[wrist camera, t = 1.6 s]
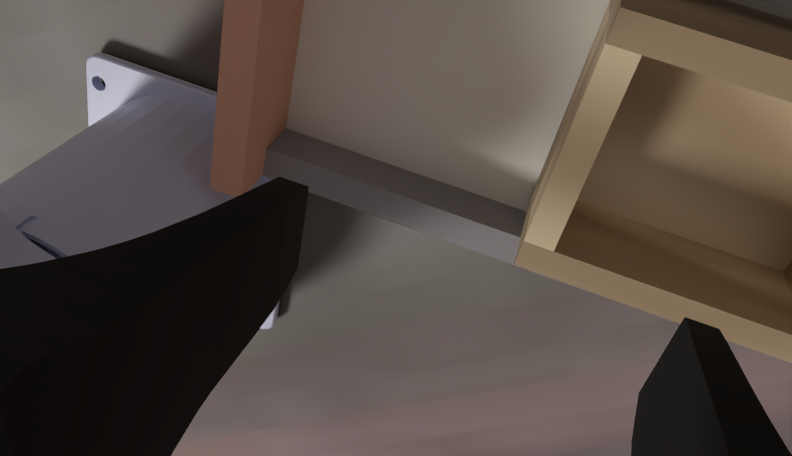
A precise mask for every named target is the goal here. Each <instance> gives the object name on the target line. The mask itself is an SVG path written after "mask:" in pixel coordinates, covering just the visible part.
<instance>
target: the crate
mask: <svg viewBox="0 0 792 456" xmlns="http://www.w3.org/2000/svg"><path fill="white" fill-rule="evenodd" d="M514 265H516V266H519V267H522V268H525V269H528V270H531V271H533V272H536V273H539V274H542V275H545V276H547V277H550V278H553V279H556V280H559V281H561V282H564V283H567V284H570V285H573V286H576V287H578V288H581V289H584V290H587V291H590V292H592V293H595V294H598V295H601V296H604V297H607V298H609V299H612V300H615V301H618V302H621V303H623V304H626V305H629V306H632V307H635V308H638V309H640V310H643V311H646V312H649V313H652V314H654V315H657V316H660V317H663V318H666V319H668V320H671V321H674V322H677V323H680V324H681V322H682V321H683V319H684V317H686V318H689V319H692V320H695V321H698V322H701V323H704V324H707V325H710V326H712V327H715V328H718V329H720V331H721V332H722V334H723V336H724V338H725V339H726V340H728V341H730V342H733V343H736V344H739V345H742V346H745V347H747V348H750V349H753V350H756V351H759V352H761V353H764V354H767V355H770V356H773V357H775V358H778V359H781V360H784V361H787V362H790V363H792V20H789V19H786V18H783V17H780V16H776V15H773V14H770V13H766V12H763V11H760V10H757V9H753V8H750V7H747V6H744V5H740V4H737V3H734V2H730V1H727V0H610V2H609V5H608V7H607V10H606V12H605V15H604V17H603V20H602V22H601V25H600V27H599V30H598V32H597V35H596V37H595V40H594V42H593V45H592V47H591V50H590V52H589V54H588V57H587V59H586V62H585V64H584V67H583V69H582V72H581V74H580V77H579V79H578V82H577V84H576V87H575V89H574V92H573V94H572V97H571V99H570V102H569V104H568V107H567V109H566V112H565V114H564V117H563V119H562V122H561V124H560V126H559V129H558V131H557V134H556V136H555V139H554V141H553V144H552V146H551V149H550V151H549V154H548V156H547V159H546V161H545V164H544V166H543V169H542V171H541V174H540V176H539V179H538V181H537V184H536V186H535V189H534V191H533V193H532V196H531V198H530V202H529V206H528V210H527V214H526V218H525V222H524V226H523V230H522V234H521V238H520V242H519V246H518V250H517V254H516V258H515V262H514Z"/></svg>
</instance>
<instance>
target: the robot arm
mask: <svg viewBox="0 0 792 456" xmlns="http://www.w3.org/2000/svg"><path fill="white" fill-rule="evenodd" d="M86 76H87V100H88V124H89V127H88V128H86V129H85V130H83V131H82V132H80V133H79V134H77V135H75V136H74V137H72V138H71V139H69V140H68V141H66V142H65V143H63V144H62V145H60V146H59V147H57V148H55V149H54V150H52V151H51V152H49V153H48V154H46V155H45V156H43V157H42V158H40V159H38V160H37V161H35V162H34V163H32V164H31V165H29V166H28V167H26V168H25V169H23V170H22V171H20V172H18V173H17V174H15V175H14V176H12V177H11V178H9V179H8V180H6V181H5V182H3V183H1V184H0V456H171V454H172V452H173V451H174V449H175V447H176V446H177V444H178V443H179V441H180V439H181V438H182V436H183V434H184V433H185V431H186V429H187V428H188V426H189V424H190V423H191V421H192V420H193V418H194V416H195V415H196V413H197V411H198V410H199V408H200V407H201V405H202V404H203V403H204V401H205V400H206V398H207V397H208V395H209V394H210V393H211V391H212V390H213V388H214V387H215V386H216V385H217V383H218V382H219V381H220V379H221V378H222V377H223V375H224V374H225V373H226V372H227V370H228V369H229V368H230V366H231V365H232V364H233V362H234V361H235V360H236V359H237V357H238V356H239V355H240V353H241V352H242V351H243V349H244V348H245V347H246V346H247V344H248V343H249V342H250V340H251V339H252V338H253V336H254V335H255V334H256V333H257V331H258V330H259V329H260V328H262V329H270V328H271V327H272V326H273V325H274V323H275V322H276V319H277V314H278V308H279V302H280V298H281V297H282V295H283V293H284V291H285V290H286V288H287V286H288V284H289V282H290V281H291V279H292V277H293V275H294V273H295V272H296V270H297V268H298V260H299V253H300V246H301V239H302V232H303V225H304V218H305V210H306V203H307V196H308V189H309V187H308V186H305V185H303V184H300V183H297V182H294V181H291V180H288V179H285V178H282V177H278V178H275V179H270V178H267V177H265V176H262V177H261V178H260V179H259V180H258V181H257V182H256V183H255V184H254V186H253V187H252V188H251V189H250V190H249V191H248V192H245V193H243V194H241V195H239V196H237V197H233V196H230V195H227V194H224V193H222V192H219V191H216V190H213V189H211V188H210V179H211V166H212V153H213V140H214V127H215V114H216V101H217V92H216V91H213V90H210V89H207V88H204V87H201V86H198V85H195V84H192V83H189V82H186V81H184V80H181V79H178V78H175V77H172V76H169V75H166V74H163V73H160V72H157V71H155V70H152V69H149V68H146V67H143V66H140V65H137V64H134V63H131V62H128V61H126V60H123V59H120V58H117V57H114V56H111V55H108V54H105V53H96V54H94V55H92V56H90V57H89V58H88V59H87V62H86ZM99 77H100V78H102V79H103V81H104V82H105V85H106V86H104V85H103V84H102V83H101V82H100V80H99ZM631 456H792V455H791V453H790V452H789V450H788V449H787V447H786V446H785V444H784V442H783V441H782V439H781V437H780V436H779V434H778V433H777V431H776V429H775V428H774V426H773V424H772V423H771V421H770V419H769V417H768V416H767V414H766V412H765V411H764V409H763V407H762V405H761V404H760V402H759V400H758V398H757V396H756V395H755V393H754V391H753V389H752V387H751V386H750V384H749V382H748V380H747V378H746V376H745V375H744V373H743V371H742V369H741V367H740V365H739V363H738V362H737V360H736V358H735V356H734V354H733V352H732V350H731V349H730V347H729V345H728V343H727V341H726V339H725V338H724V336H723V334H722V332H721V331H720V329H718V328H715V327H712V326H710V325H707V324H704V323H701V322H698V321H695V320H692V319H689V318H686V317H684V319H683V321H682V322H681V324H680V326H679V327H678V329H677V331H676V332H675V334H674V336H673V337H672V339H671V341H670V342H669V344H668V346H667V347H666V349H665V351H664V352H663V354H662V356H661V357H660V359H659V361H658V362H657V364H656V366H655V367H654V369H653V371H652V372H651V374H650V376H649V377H648V379H647V381H646V382H645V384H644V386H643V387H642V389H641V391H640V392H639V397H638V403H637V409H636V416H635V422H634V430H633V437H632V453H631Z"/></svg>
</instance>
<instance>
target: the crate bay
mask: <svg viewBox="0 0 792 456" xmlns="http://www.w3.org/2000/svg"><path fill="white" fill-rule="evenodd" d="M727 1H730V2H734V3H737V4H740V5H744V6H747V7H750V8H753V9H757V10H760V11H763V12H766V13H770V14H773V15H776V16H780V17H783V18H786V19H789V20H792V0H727ZM609 2H610V0H224V11H223V24H222V36H221V49H220V62H219V75H218V88H217V101H216V114H215V127H214V140H213V153H212V166H211V179H210V188H211V189H213V190H216V191H219V192H222V193H224V194H227V195H230V196H233V197H237V196H239V195H241V194H243V193H245V192H248V191H249V190H250V189H251V188H252V187H253V186H254V184H255V183H256V182H257V181H258V180H259V179H260V178H261V177H262V176H265V177H267V178H270V179H275V178H278V177H282V178H285V179H288V180H291V181H294V182H297V183H300V184H303V185H305V186H308V187H309V189H308V192H310V193H312V194H315V195H318V196H321V197H324V198H327V199H329V200H332V201H335V202H338V203H341V204H343V205H346V206H349V207H352V208H355V209H358V210H360V211H363V212H366V213H369V214H372V215H374V216H377V217H380V218H383V219H386V220H388V221H391V222H394V223H397V224H400V225H403V226H405V227H408V228H411V229H414V230H417V231H419V232H422V233H425V234H428V235H431V236H434V237H436V238H439V239H442V240H445V241H448V242H450V243H453V244H456V245H459V246H462V247H464V248H467V249H470V250H473V251H476V252H479V253H481V254H484V255H487V256H490V257H493V258H495V259H498V260H501V261H504V262H507V263H510V264H512V265H514V262H515V258H516V254H517V250H518V246H519V242H520V238H521V234H522V230H523V226H524V222H525V218H526V214H527V210H528V206H529V202H530V198H531V196H532V193H533V191H534V189H535V186H536V184H537V181H538V179H539V176H540V174H541V171H542V169H543V166H544V164H545V161H546V159H547V156H548V154H549V151H550V149H551V146H552V144H553V141H554V139H555V136H556V134H557V131H558V129H559V126H560V124H561V122H562V119H563V117H564V114H565V112H566V109H567V107H568V104H569V102H570V99H571V97H572V94H573V92H574V89H575V87H576V84H577V82H578V79H579V77H580V74H581V72H582V69H583V67H584V64H585V62H586V59H587V57H588V54H589V52H590V50H591V47H592V45H593V42H594V40H595V37H596V35H597V32H598V30H599V27H600V25H601V22H602V20H603V17H604V15H605V12H606V10H607V7H608V5H609ZM515 266H516V265H515ZM518 267H519V266H518ZM521 268H522V267H521ZM524 269H525V268H524ZM526 270H528V269H526ZM529 271H531V270H529ZM532 272H533V271H532ZM535 273H536V272H535ZM538 274H539V273H538ZM540 275H542V274H540ZM543 276H545V275H543ZM546 277H547V276H546ZM549 278H550V277H549ZM552 279H553V278H552ZM555 280H556V279H555ZM557 281H559V280H557ZM560 282H561V281H560ZM563 283H564V282H563ZM566 284H567V283H566ZM569 285H570V284H569ZM571 286H573V285H571ZM574 287H576V286H574ZM577 288H578V287H577ZM580 289H581V288H580ZM583 290H584V289H583ZM586 291H587V290H586ZM588 292H590V291H588ZM591 293H592V292H591ZM594 294H595V293H594ZM597 295H598V294H597ZM600 296H601V295H600ZM602 297H604V296H602ZM605 298H607V297H605ZM608 299H609V298H608ZM611 300H612V299H611ZM614 301H615V300H614ZM617 302H618V301H617ZM619 303H621V302H619ZM622 304H623V303H622ZM625 305H626V304H625ZM628 306H629V305H628ZM631 307H632V306H631ZM633 308H635V307H633ZM636 309H638V308H636ZM639 310H640V309H639ZM642 311H643V310H642ZM645 312H646V311H645ZM647 313H649V312H647ZM650 314H652V313H650ZM653 315H654V314H653ZM656 316H657V315H656ZM659 317H660V316H659ZM662 318H663V317H662ZM664 319H666V318H664ZM667 320H668V319H667ZM670 321H671V320H670ZM673 322H674V321H673ZM676 323H677V322H676ZM678 324H680V323H678ZM726 341H728V340H726ZM729 342H730V341H729ZM732 343H733V342H732ZM735 344H736V343H735ZM738 345H739V344H738ZM740 346H742V345H740ZM743 347H745V346H743ZM746 348H747V347H746ZM749 349H750V348H749ZM752 350H753V349H752ZM754 351H756V350H754ZM757 352H759V351H757ZM760 353H761V352H760ZM763 354H764V353H763ZM766 355H767V354H766ZM769 356H770V355H769ZM771 357H773V356H771ZM774 358H775V357H774ZM777 359H778V358H777ZM780 360H781V359H780ZM783 361H784V360H783ZM785 362H787V361H785ZM788 363H790V362H788ZM791 364H792V363H791Z"/></svg>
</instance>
